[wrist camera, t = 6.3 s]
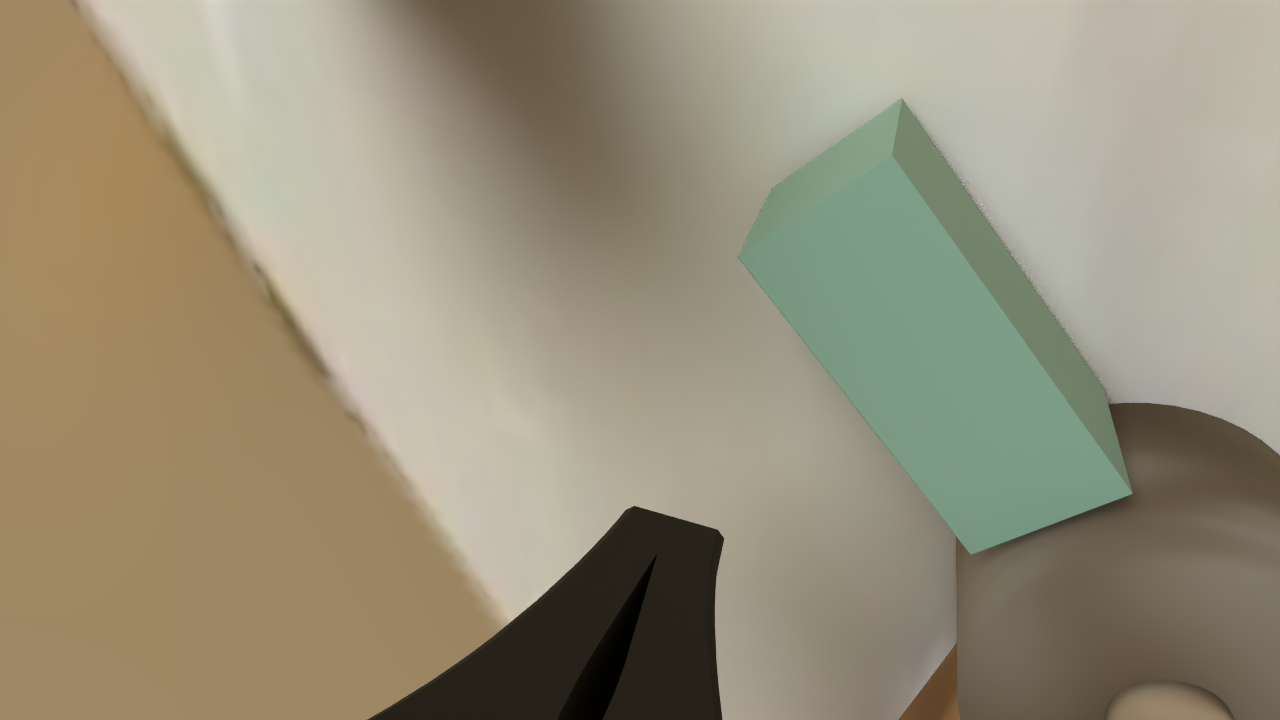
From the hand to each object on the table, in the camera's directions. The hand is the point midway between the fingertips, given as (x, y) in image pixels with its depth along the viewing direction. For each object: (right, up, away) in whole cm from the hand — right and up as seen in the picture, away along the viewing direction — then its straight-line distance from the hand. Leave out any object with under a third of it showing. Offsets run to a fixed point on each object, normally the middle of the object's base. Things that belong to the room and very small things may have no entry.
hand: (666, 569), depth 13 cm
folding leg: (+6, +4, +5) cm, 9 cm away
